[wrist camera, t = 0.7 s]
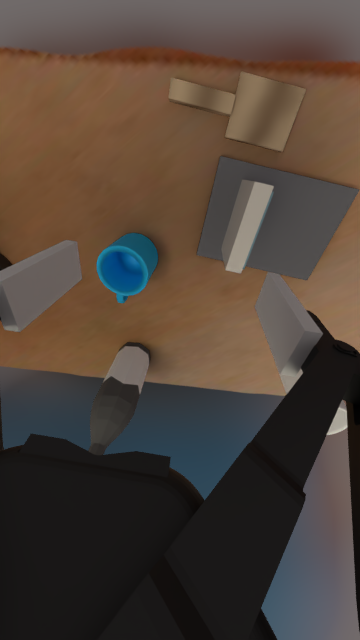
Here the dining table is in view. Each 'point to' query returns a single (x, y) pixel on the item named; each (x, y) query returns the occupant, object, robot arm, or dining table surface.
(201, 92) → the turner
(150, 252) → the mug
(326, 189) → the mat
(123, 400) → the wine bottle
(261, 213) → the tile
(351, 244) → the dining table surface
